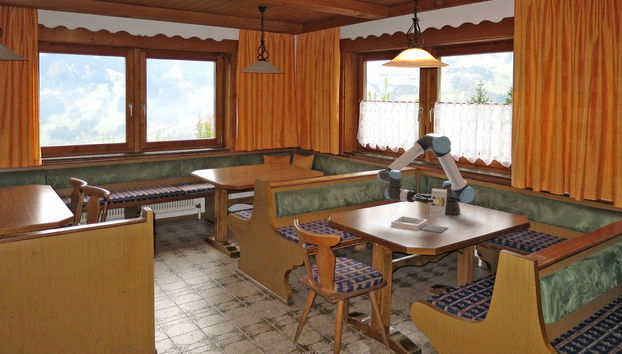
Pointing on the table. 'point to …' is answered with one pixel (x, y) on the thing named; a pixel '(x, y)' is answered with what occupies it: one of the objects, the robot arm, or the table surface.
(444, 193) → the supplement box
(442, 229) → the charcoal mat
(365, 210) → the table surface
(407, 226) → the beige square tray
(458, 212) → the robot arm
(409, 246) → the table surface
